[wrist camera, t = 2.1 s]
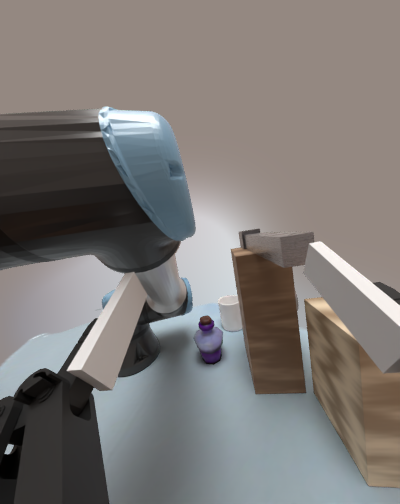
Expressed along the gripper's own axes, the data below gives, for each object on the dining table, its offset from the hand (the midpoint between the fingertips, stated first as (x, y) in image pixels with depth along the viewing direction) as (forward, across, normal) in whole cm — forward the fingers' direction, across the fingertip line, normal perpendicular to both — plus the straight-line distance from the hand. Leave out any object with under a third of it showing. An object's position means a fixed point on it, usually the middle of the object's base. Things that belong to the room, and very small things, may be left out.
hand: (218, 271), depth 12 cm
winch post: (+8, +10, -41) cm, 42 cm away
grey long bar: (+16, +9, -11) cm, 21 cm away
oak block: (-4, +19, -34) cm, 39 cm away
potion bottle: (+12, -7, -42) cm, 45 cm away
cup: (+24, +2, -49) cm, 55 cm away
